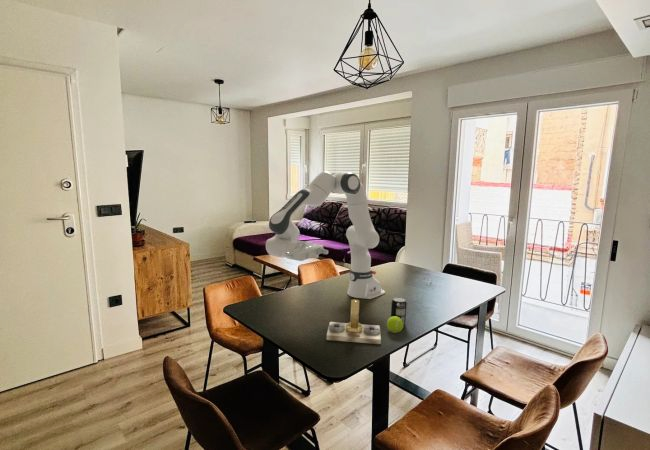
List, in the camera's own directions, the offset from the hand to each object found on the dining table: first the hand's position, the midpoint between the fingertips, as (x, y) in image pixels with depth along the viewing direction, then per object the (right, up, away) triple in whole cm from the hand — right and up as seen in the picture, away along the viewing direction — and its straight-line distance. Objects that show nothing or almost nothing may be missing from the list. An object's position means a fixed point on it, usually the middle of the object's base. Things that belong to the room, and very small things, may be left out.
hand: (322, 254), depth 152 cm
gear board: (+13, -34, -6) cm, 37 cm away
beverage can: (+34, -33, +5) cm, 48 cm away
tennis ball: (+31, -34, -3) cm, 46 cm away
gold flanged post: (+13, -32, -7) cm, 35 cm away
